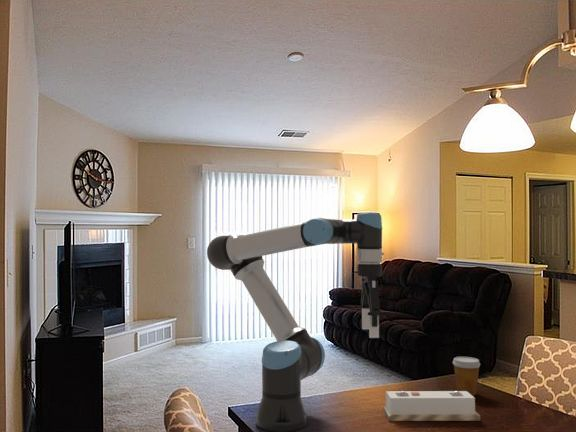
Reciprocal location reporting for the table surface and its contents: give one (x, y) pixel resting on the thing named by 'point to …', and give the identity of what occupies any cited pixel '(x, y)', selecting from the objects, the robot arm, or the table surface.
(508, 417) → the table surface
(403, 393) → the chrome knobs
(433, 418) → the hanger board
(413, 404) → the power strip
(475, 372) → the disposable coffee cup
